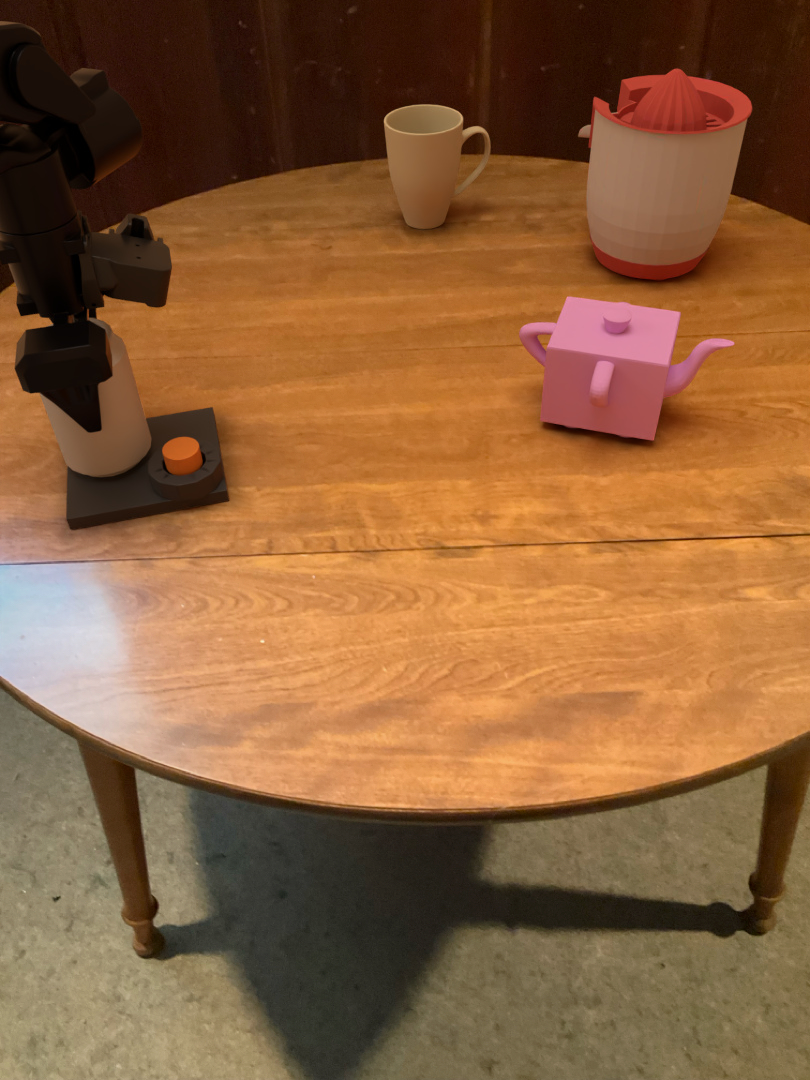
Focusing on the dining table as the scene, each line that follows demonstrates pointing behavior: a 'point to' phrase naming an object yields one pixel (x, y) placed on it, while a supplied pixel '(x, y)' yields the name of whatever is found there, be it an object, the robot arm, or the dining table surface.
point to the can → (106, 422)
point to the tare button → (182, 456)
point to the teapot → (611, 365)
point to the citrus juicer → (662, 171)
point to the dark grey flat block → (152, 477)
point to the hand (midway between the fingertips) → (94, 397)
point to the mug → (428, 160)
